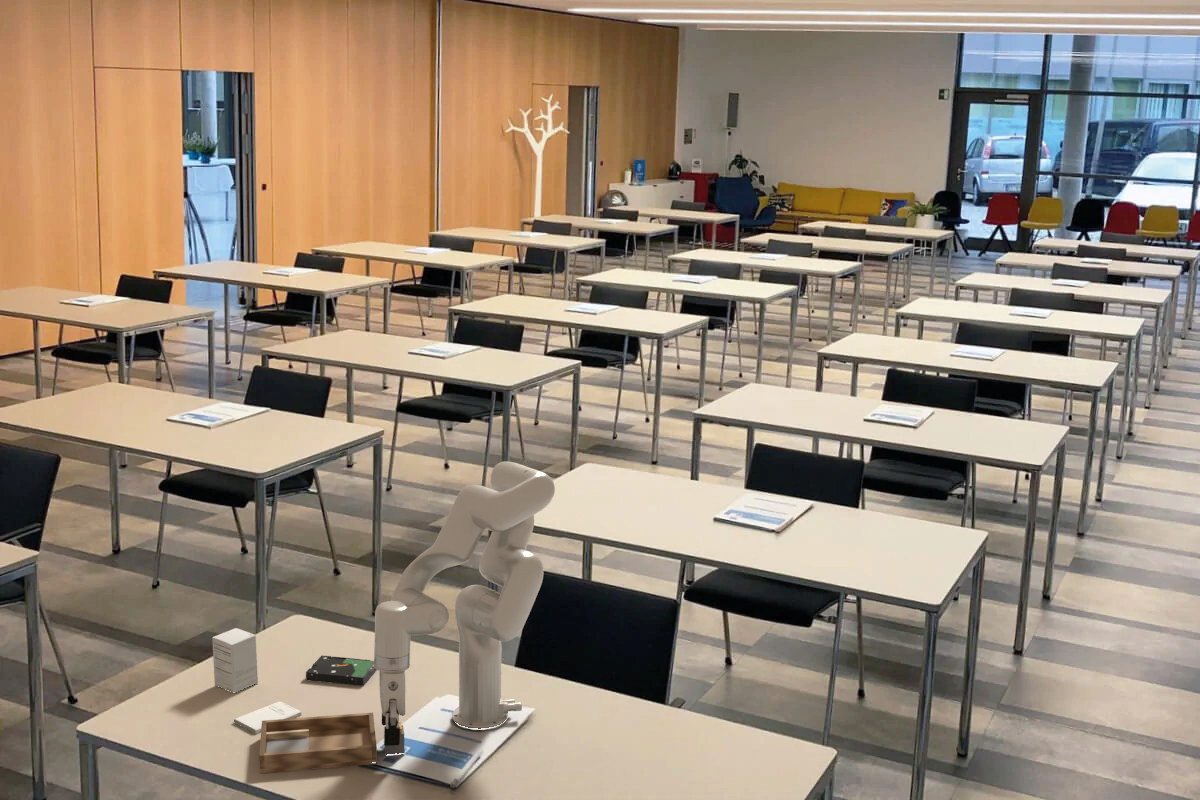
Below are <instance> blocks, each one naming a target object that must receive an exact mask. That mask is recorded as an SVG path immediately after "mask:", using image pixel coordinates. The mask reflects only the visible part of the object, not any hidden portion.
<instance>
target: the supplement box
mask: <svg viewBox="0 0 1200 800" xmlns="http://www.w3.org/2000/svg"><path fill="white" fill-rule="evenodd" d="M211 638H212V639H211V640H212V655H213V657H212V659H213V674H214V675H213V677H214V686H215V685H217V686H219V687H222V688H224V689H226V690H229V691H231V692H235V694H237V693H239V692H238V691H240V690H242V689H244V688H246V689H248V688H247V687H249V686H251V687H253V686H255V685H257V684H256V683H258V684H259V679H258V677H259V676H258V658H257V657H258V656H257V653H258V652H257V636H256V635H255V634H253V633H252V632H249V631H245V630H243V629H240V628H237V627H235V628H232V629H230V630H227V631H224V632H222V633H219V634H217V635H215V636H212V637H211ZM254 684H255V685H254ZM252 685H253V686H252ZM217 686H216V687H217ZM219 687H218V688H219ZM249 688H250V687H249ZM224 689H223V690H224ZM226 690H225V691H226ZM244 690H245V689H244ZM229 691H228V692H229ZM242 691H243V690H242ZM231 692H230V693H231ZM236 692H237V693H236ZM240 692H241V691H240Z"/></svg>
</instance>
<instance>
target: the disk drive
mask: <svg viewBox="0 0 1200 800" xmlns="http://www.w3.org/2000/svg"><path fill="white" fill-rule="evenodd" d="M377 671H378V670H376V669H375V668H374V660H370V659H362V658H354V657H353V658H352V657H345V656H344V657H343V656H332V655H320V656H319V657H318V659H317V660H316V661H314V663H313V664H312V666H311V668H310V667H309V668H308V669H307V670H306V671H305V680H306V681H308V680H311V682H318V681H321V682H320V683H328V682H332V684H338V685H339V684H340V685H349V686H359V687H364V686H366V684H367V683H368V682H369V680H370V679H371V678H372V677H373V675H374V674H375V673H376V672H377Z"/></svg>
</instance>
